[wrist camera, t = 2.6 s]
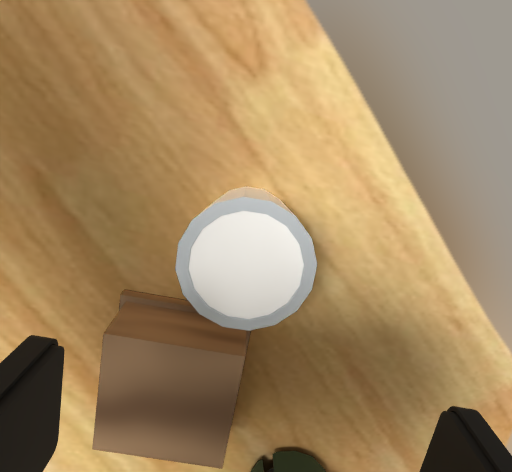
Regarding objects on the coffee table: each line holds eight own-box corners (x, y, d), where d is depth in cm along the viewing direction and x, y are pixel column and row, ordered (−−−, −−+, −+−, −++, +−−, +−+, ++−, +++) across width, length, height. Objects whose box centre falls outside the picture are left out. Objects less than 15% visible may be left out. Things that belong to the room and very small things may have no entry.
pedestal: (124, 289, 28) (96, 325, 23) (253, 311, 28) (253, 351, 23) (112, 399, 30) (85, 453, 25) (231, 418, 31) (227, 474, 26)
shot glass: (323, 227, 27) (347, 264, 20) (251, 299, 28) (250, 356, 21) (245, 152, 25) (241, 166, 19) (172, 232, 27) (145, 271, 20)
